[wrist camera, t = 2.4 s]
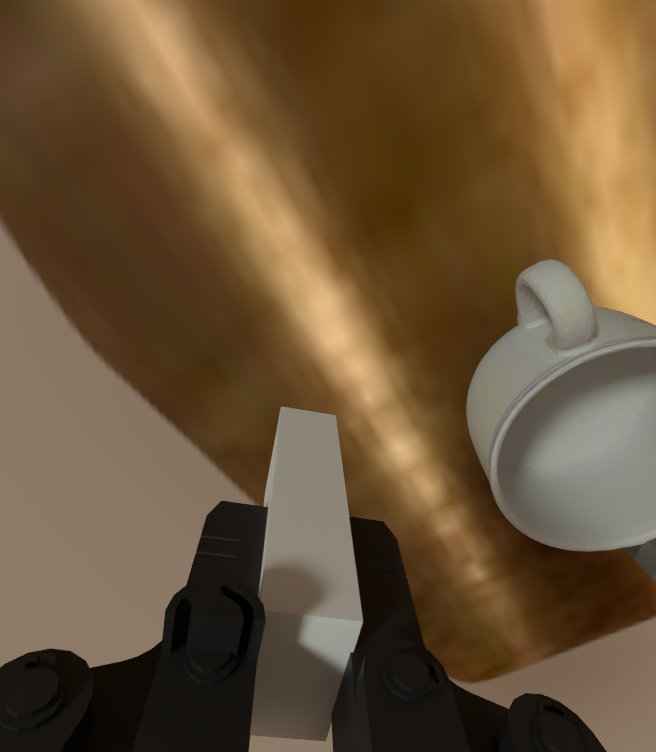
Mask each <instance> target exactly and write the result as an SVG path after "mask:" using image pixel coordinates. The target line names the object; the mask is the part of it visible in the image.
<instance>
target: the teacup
mask: <svg viewBox="0 0 656 752" xmlns="http://www.w3.org/2000/svg"><path fill="white" fill-rule="evenodd" d="M515 290H516V301H517V307H518V315H517V321H518V326H516V327H515V328H513V329H512V330H510V331H509V332H508V333H506V334H505V335H504V336H502V337H501V338H500V339H499V340H498V341H497V342H496V343H495V344H494V345H493V346H492V347H491V348H490V350H489V351H488V352H487V353H486V355H485V356H484V357H483V359H482V360H481V362H480V363H479V365H478V367H477V369H476V371H475V373H474V375H473V378H472V381H471V383H470V387H469V391H468V396H467V408H466V413H467V423H468V428H469V432H470V436H471V439H472V442H473V445H474V447H475V450H476V453H477V456H478V458H479V460H480V463H481V465H482V467H483V469H484V471H485V474H486V476H487V478H488V480H489V482H490V487H491V490H492V493H493V496H494V499H495V501H496V504H497V505H498V507H499V509H500V510H501V512H502V513H503V514H504V516H505V517H506V518H507V519H508V520H509V522H510V523H511V524H512V525H513V526H514V527H515V528H516V529H518V530H519V531H521V532H522V533H524V534H525V535H527V536H528V537H530V538H532V539H534V540H536V541H538V542H540V543H542V544H545V545H548V546H551V547H555V548H560V549H564V550H571V551H587V552H588V551H604V550H614V549H619V548H624V547H631V546H636V545H641V544H644V543H646V542H647V541H650V540H652V539H655V538H656V326H655V325H653V324H651V323H649V322H647V321H644V320H642V319H639V318H637V317H634V316H632V315H629V314H626V313H623V312H620V311H616V310H612V309H608V308H601V307H593V305H592V302H591V300H590V298H589V295H588V293H587V291H586V289H585V288H584V286H583V284H582V282H581V280H580V279H579V278H578V277H577V276H576V275H575V273H574V272H573V271H572V270H571V269H570V268H569V267H568V266H566V265H565V264H563V263H562V262H560V261H556V260H552V259H550V260H545V261H541V262H538V263H536V264H535V265H533V266H531V267H529V268H527V269H526V270H524V271H523V272H522V273H521V274H520V275H519V277H518V279H517V282H516V289H515Z"/></svg>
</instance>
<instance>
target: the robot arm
mask: <svg viewBox="0 0 656 752" xmlns="http://www.w3.org/2000/svg"><path fill="white" fill-rule="evenodd" d="M401 560H402V557H401V554H400V550H399V546H398V542H397V539H396V538H395V536H394V535H393V534H392V532H391V531H390V530H389V528H388V527H387V526H386V524H385V523H384V522H383V521H376V520H369V519H362V518H354V517H349V512H348V505H347V497H346V490H345V482H344V475H343V467H342V460H341V452H340V445H339V437H338V430H337V422H336V415H330V414H323V413H317V412H311V411H305V410H299V409H293V408H287V407H281V410H280V416H279V421H278V427H277V432H276V437H275V443H274V448H273V453H272V459H271V464H270V470H269V475H268V480H267V486H266V491H265V499H264V507H263V506H256V505H248V504H241V503H234V502H227V501H221V502H220V503H219V504H218V505H217V506H216V507H215V508H214V509H213V510H212V511H211V512H210V513H209V514H208V515H207V517H206V520H205V524H204V527H203V530H202V534H201V538H200V541H199V544H198V547H197V551H196V555H195V558H194V561H193V564H192V568H191V572H190V575H189V578H188V582H187V585H186V586H185V587H184V588H182V589H181V590H180V591H179V592H177V593H176V594H175V595H174V596H173V598H172V600H171V601H170V603H169V605H168V607H167V608H166V611H165V620H164V630H163V639H162V641H161V642H160V643H159V644H157V645H156V646H155V647H154V648H152V649H151V650H149V651H147V652H145V653H143V654H142V655H140V656H138V657H135V658H132V659H128V660H125V661H122V662H117V663H112V664H107V665H102V666H97V667H93V668H89V666H88V664H87V663H86V661H85V660H84V659H82V658H81V657H79V656H77V655H76V654H74V653H73V652H71V651H65V650H57V649H46V650H41V651H36V652H30V653H27V654H25V655H23V656H20V657H18V658H16V659H14V660H12V661H10V662H8V663H6V664H4V665H3V666H2V667H1V668H0V752H248V750H249V740H250V735H256V736H269V737H281V738H293V739H306V740H318V741H326V738H327V735H328V732H329V729H330V725H331V722H332V734H333V735H332V737H333V752H606V750H605V749H604V747H603V746H602V745H601V743H600V742H599V740H598V739H597V738H596V736H595V735H594V734H593V732H592V731H591V730H590V729H589V728H588V727H587V725H586V724H585V723H584V722H583V721H582V720H581V719H580V718H579V716H578V715H576V714H575V713H574V712H572V711H571V710H570V709H568V708H567V707H566V706H564V705H563V704H562V703H560V702H559V701H556V700H554V699H552V698H549V697H547V696H544V695H542V694H528V693H525V694H523V695H521V696H519V697H518V698H516V699H514V700H513V702H512V704H511V706H510V708H509V709H507V708H505V707H503V706H500V705H498V704H496V703H493V702H491V701H489V700H486V699H484V698H481V697H479V696H477V695H475V694H472V693H470V692H468V691H466V690H464V689H463V688H461V687H459V686H457V685H456V684H455V683H453V682H452V681H451V680H449V678H448V676H447V674H446V672H445V670H444V668H443V666H442V665H441V663H440V662H439V661H438V660H437V659H436V658H435V657H434V656H433V654H432V653H431V652H430V651H428V650H427V649H426V648H425V645H424V642H423V639H422V635H421V631H420V627H419V623H418V619H417V615H416V612H415V608H414V604H413V600H412V596H411V592H410V588H409V585H408V581H407V579H406V573H405V569H404V565H403V562H401Z"/></svg>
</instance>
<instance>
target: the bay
mask: <svg viewBox="0 0 656 752" xmlns="http://www.w3.org/2000/svg"><path fill="white" fill-rule="evenodd" d="M624 548H625V549H626V550H627V552H628V553H629V554H630V555H631V556H632V558H633V559H634V560H635V561H636V562H637V563H638V565H639V566H640V567H641V568H642V569H643V570H644V572H645V573H646V574H647V575H648V576H649V578H650V579H651V580H655V581H656V538H655V539H652V540H650V541H647V542H646V543H644V544H641V545H636V546H631V547H624Z"/></svg>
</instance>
